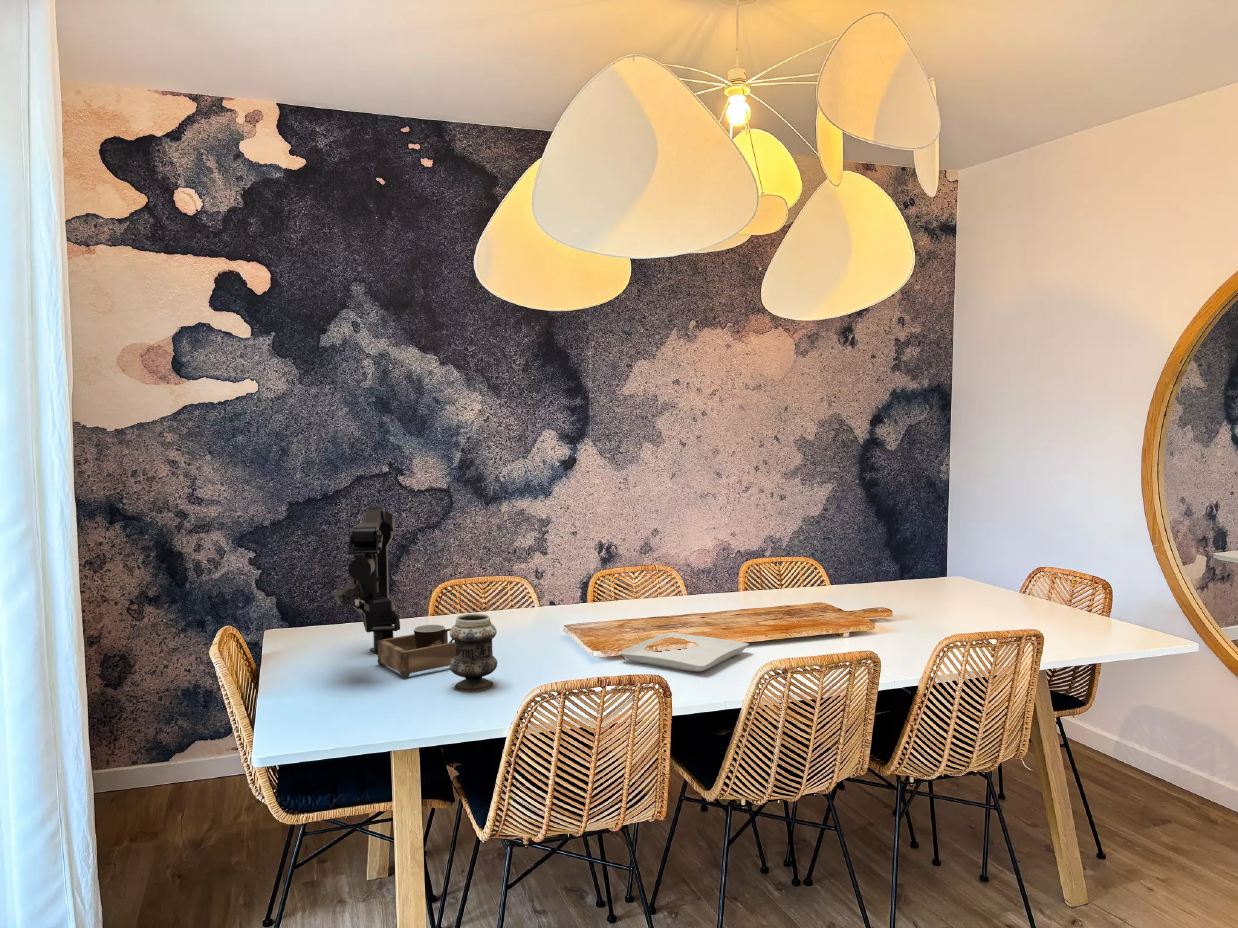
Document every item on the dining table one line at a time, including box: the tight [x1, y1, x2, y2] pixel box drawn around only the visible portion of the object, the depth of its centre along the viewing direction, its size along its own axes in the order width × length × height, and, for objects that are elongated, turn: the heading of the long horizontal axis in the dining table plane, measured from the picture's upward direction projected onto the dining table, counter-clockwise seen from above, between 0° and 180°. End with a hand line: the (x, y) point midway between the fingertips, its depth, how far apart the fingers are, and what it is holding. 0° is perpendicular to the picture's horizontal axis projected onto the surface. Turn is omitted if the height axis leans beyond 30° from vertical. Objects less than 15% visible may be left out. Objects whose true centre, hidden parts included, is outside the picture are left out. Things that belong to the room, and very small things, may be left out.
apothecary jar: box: [449, 613, 498, 693], centre depth 234 cm, size 12×12×18 cm
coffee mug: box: [413, 624, 454, 649], centre depth 256 cm, size 12×9×10 cm
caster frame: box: [377, 628, 455, 679], centre depth 255 cm, size 18×21×7 cm
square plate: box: [618, 632, 750, 672], centre depth 258 cm, size 27×27×4 cm
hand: (368, 631), depth 245 cm, fingers closed
